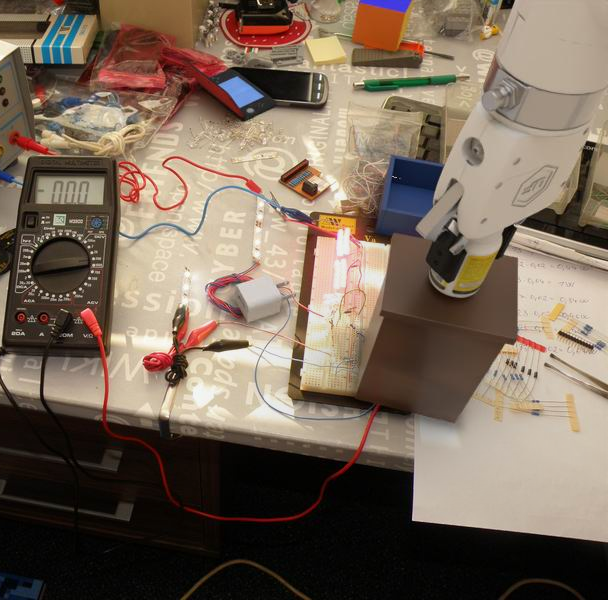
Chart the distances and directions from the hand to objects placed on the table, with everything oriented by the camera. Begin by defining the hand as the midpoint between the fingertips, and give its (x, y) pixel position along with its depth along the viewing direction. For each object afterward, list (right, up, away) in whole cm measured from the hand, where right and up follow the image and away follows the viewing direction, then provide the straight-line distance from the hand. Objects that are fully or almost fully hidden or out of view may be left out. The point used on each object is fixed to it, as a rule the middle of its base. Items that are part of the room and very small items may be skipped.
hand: (463, 258), depth 60 cm
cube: (+8, +43, +60) cm, 74 cm away
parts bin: (+6, +8, +33) cm, 35 cm away
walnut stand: (0, -13, +17) cm, 21 cm away
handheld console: (-20, +28, +49) cm, 60 cm away
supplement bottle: (0, -2, +3) cm, 3 cm away
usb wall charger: (-16, -5, +24) cm, 29 cm away
